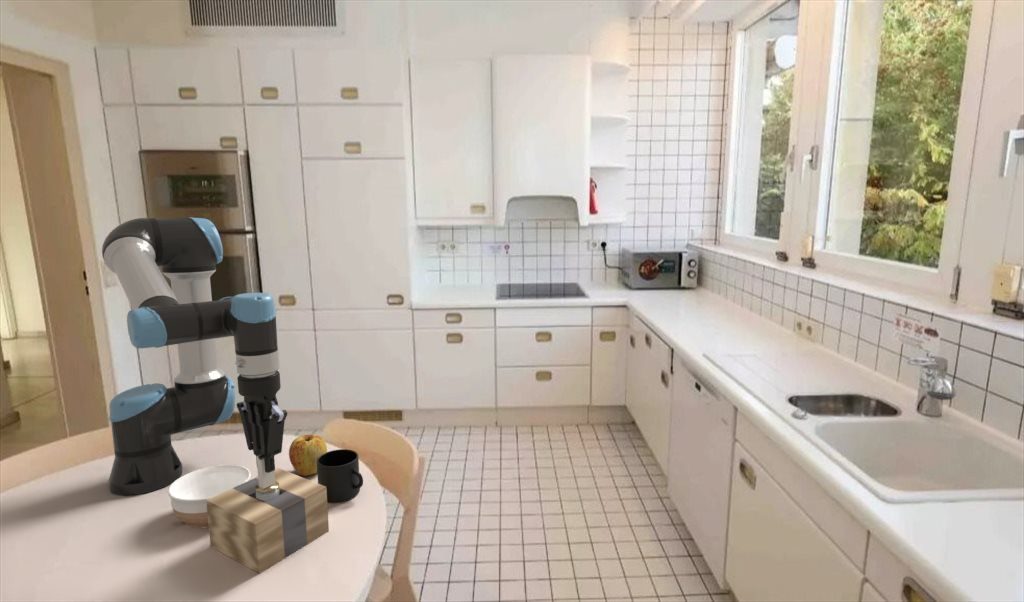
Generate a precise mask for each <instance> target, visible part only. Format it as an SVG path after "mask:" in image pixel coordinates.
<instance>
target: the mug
mask: <svg viewBox="0 0 1024 602" xmlns="http://www.w3.org/2000/svg"><path fill="white" fill-rule="evenodd" d="M359 460H360V459H359V453H358V452H357V451H355V450H352V449H345V448H342V449H340V448H339V449H333V450H330V451H327V452H326V453H324V454H322V455H321V456H319V457H318V459H317V473H316V475H317V483H318V484H320V485H323V486H326V489H327V503H329V504H330V503H331V504H333V503H334V504H335V503H337V504H338V503H343V502H348V501H349V500H351V499H354V498H355V497H356V496H357V495H358V494H359V492H360V490H361V488H362V486H363V485H364V477H363V475H362V473H361V472H360V463H359Z"/></svg>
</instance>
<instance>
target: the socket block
mask: <svg viewBox="0 0 1024 602" xmlns="http://www.w3.org/2000/svg"><path fill="white" fill-rule="evenodd" d="M275 481H277V482H278V483H279V491H280V495H278V496H276V497H274V498H272V499H270V500H268V501H266V502H261V501H259V500H257V499H256V492H255V487H256V486H257V485H258V484H259V481H258V476H257V477H254V478H252V479H249V481H247V482H245V483H243V484H241V485H239V486H236V487H234V488H232V489H230V490H227V491H225V492H223V493H221V494H219V495H216V496H214V497H212V498H210V499H207V500H206V503H207V514H208V524H209V527H208V534H209V542H210V547H211V548H213V549H215V550H216V551H219V552H220V553H222V554H223V555H226V556H227V557H228V558H231V559H233V560H234V561H236V562H238V563H240V564H242V565H243V566H245V567H247V568H248V569H250V570H251V571H252V570H253V571H254V572H256V573H258V574H261V573H263V572H264V571H266V570H268V569H270V568H271V567H273V566H275V565H277V563H279V562H281V561H283V560H284V559H286V558H287V557H289V556H290V555H292V554H294V553H296V552H297V551H299V550H300V549H302V548H304V547H305V546H307V545H309V544H310V543H312V542H314V541H315V540H317V539H319V538H320V537H321V536H323V535H324V534H326V533H329V531H330V530H329V529H330V528H329V513H328V508H329V507H328V502H327V489H326V486H323V485H320V484H318V482H315V481H312V480H310V479H307V478H305V477H304V476H301V475H297V474H295V473H291V472H289V471H287V470H284V469H283V468H282V469H281V468H279V467H275Z"/></svg>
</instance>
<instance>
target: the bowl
mask: <svg viewBox="0 0 1024 602" xmlns="http://www.w3.org/2000/svg"><path fill="white" fill-rule="evenodd" d="M251 474H252V473H251V471H250V470H249V469H248V468H247V467H245V466H243V465H238V464H219V465H217V464H216V465H211V466H207V467H203V468H199V469H195V470H193V471H191V472H188V473H186V474H183V475H181V477H180V478H179V479H177V480H175V481H174V482H173V483H171V484H169V487H168V490H167V494H168V496H169V498H170V505H171V508H172V511H173V513H174V514H175V515H176V517H177V518H179V520H181V521H182V522H184V523H185V524H186V525H187V526H189V527H191V528H194V529H205V528H209V524H208V514H207V503H206V500H207V499H210V498H212V497H214V496H216V495H219V494H221V493H223V492H225V491H227V490H230V489H232V488H234V487H236V486H239V485H241V484H243V483H245V482H247V481H250V480H251V476H252V475H251Z"/></svg>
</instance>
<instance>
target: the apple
mask: <svg viewBox="0 0 1024 602" xmlns="http://www.w3.org/2000/svg"><path fill="white" fill-rule="evenodd" d="M327 448H328V447H327V444H326V442H325V440H324V439H323V438H322V437H321V436H320V435H317V434H304V435H300V436H298V437H296V438H295V439H294V440H292V442H291V443H290V446H289V449H288V458H289V461H290V463H291V466H292V467H293V469H294V470H295V472H297V474H299V476H301V477H306V476H307V477H308V476H311V475H315V474H317V459H318V457H319V456H321V455H322V454H324V453H326V452H328V449H327Z"/></svg>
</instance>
